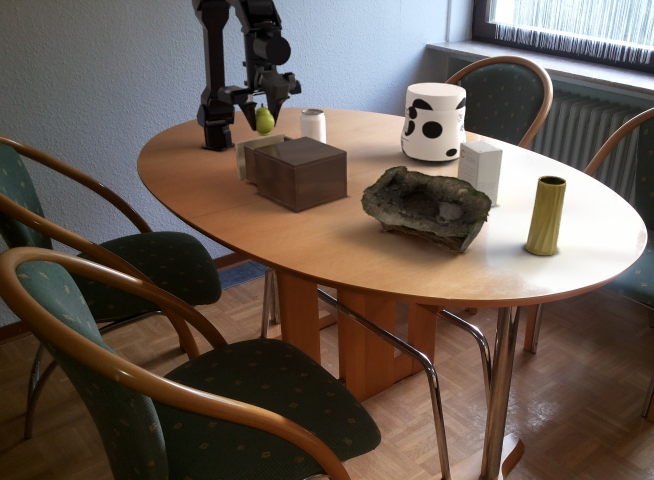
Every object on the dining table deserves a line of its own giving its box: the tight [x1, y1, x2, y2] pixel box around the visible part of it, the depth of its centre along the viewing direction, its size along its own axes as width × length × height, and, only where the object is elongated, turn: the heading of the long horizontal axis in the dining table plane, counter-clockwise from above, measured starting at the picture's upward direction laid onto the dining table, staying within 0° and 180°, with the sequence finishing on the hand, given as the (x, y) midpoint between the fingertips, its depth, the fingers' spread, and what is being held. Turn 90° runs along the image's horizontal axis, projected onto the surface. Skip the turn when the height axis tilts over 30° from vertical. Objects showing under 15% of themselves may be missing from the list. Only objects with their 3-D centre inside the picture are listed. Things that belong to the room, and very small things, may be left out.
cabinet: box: [254, 137, 348, 213], centre depth 145 cm, size 15×15×11 cm
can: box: [299, 108, 327, 144], centre depth 168 cm, size 6×6×12 cm
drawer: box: [234, 132, 294, 186], centre depth 152 cm, size 17×13×9 cm
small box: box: [456, 139, 504, 207], centre depth 144 cm, size 8×6×13 cm
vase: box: [525, 175, 568, 256], centre depth 124 cm, size 6×6×14 cm
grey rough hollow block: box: [360, 165, 492, 254], centre depth 127 cm, size 28×13×15 cm
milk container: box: [400, 82, 467, 164], centre depth 169 cm, size 17×17×18 cm
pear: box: [255, 102, 275, 137], centre depth 147 cm, size 5×5×7 cm
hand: (263, 128), depth 148 cm, fingers closed on pear, 5 cm apart
